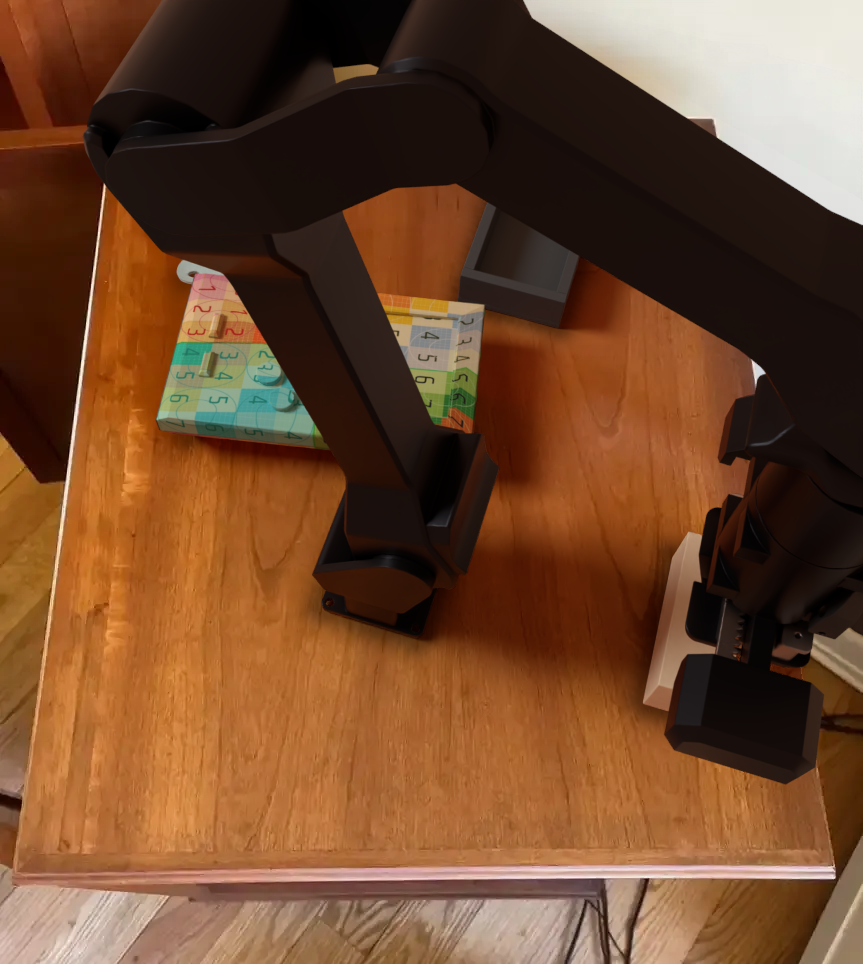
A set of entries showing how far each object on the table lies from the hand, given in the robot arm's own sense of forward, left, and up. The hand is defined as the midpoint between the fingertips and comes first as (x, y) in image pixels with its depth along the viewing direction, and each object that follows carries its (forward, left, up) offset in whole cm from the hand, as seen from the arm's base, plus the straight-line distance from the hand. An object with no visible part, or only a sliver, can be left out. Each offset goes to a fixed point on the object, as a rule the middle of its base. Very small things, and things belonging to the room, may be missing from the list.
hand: (715, 631), depth 56 cm
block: (-3, 0, -5) cm, 5 cm away
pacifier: (+20, +38, -7) cm, 43 cm away
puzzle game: (+12, +27, -7) cm, 30 cm away
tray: (+29, +17, -7) cm, 34 cm away
